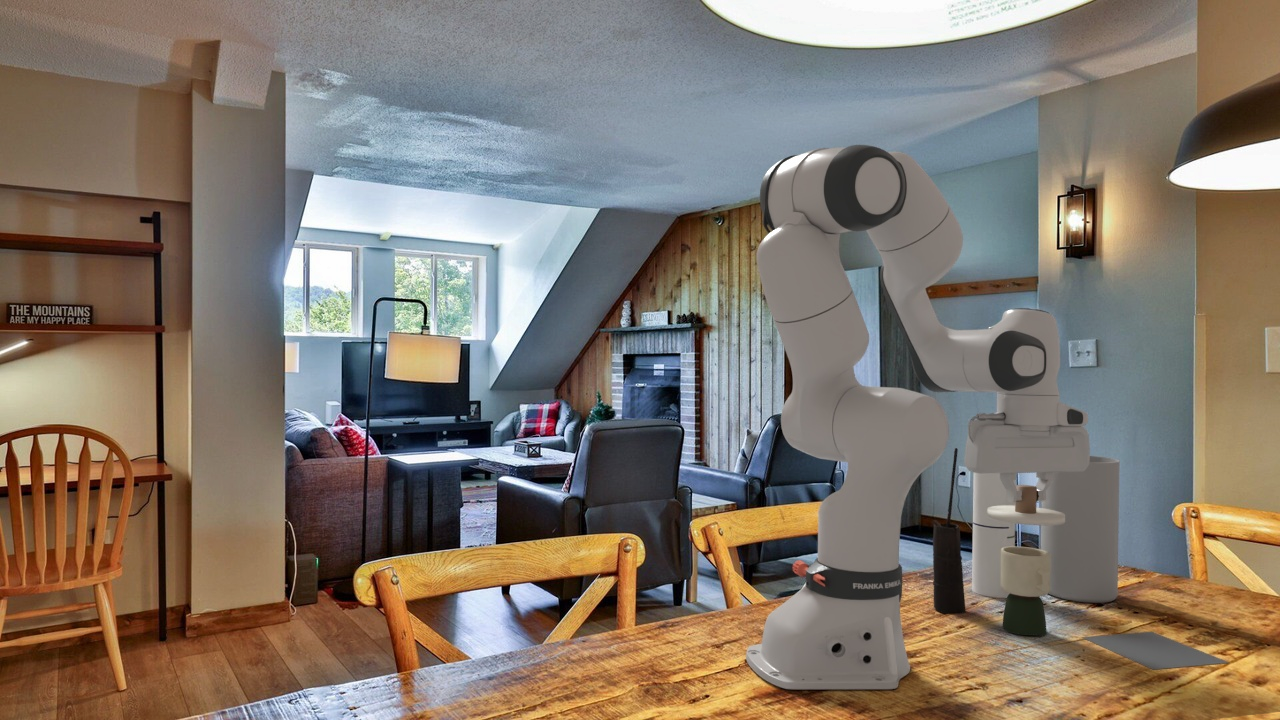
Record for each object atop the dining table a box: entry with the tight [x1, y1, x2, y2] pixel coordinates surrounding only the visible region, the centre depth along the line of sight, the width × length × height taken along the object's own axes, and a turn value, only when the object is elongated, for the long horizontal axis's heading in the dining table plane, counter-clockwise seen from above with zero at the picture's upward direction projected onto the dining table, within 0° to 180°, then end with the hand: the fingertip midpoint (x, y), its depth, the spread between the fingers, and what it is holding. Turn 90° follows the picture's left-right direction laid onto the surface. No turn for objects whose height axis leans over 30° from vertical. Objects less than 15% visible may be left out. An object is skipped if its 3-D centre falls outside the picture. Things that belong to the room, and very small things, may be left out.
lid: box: [987, 484, 1065, 527], centre depth 126 cm, size 11×11×5 cm
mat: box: [1080, 631, 1230, 671], centre depth 118 cm, size 13×13×1 cm
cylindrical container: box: [971, 472, 1017, 599], centre depth 149 cm, size 7×7×25 cm
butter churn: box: [931, 447, 967, 615], centre depth 139 cm, size 9×10×28 cm
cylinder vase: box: [1040, 455, 1120, 604], centre depth 148 cm, size 12×12×25 cm
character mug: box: [1001, 545, 1051, 637], centre depth 126 cm, size 11×7×13 cm, turn 10°
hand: (1026, 501), depth 126 cm, fingers closed on lid, 3 cm apart
